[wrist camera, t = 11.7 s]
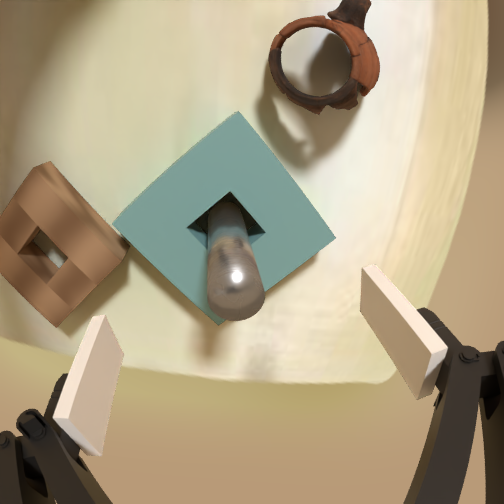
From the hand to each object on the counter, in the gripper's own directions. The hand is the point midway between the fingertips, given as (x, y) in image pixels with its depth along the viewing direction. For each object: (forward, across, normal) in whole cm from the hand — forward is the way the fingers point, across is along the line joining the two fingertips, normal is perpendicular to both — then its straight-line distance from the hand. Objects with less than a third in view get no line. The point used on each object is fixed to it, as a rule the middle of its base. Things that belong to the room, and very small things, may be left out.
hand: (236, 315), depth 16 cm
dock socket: (+16, 0, -1) cm, 16 cm away
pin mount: (+16, -18, 0) cm, 24 cm away
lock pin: (+16, 0, -1) cm, 16 cm away
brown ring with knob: (+17, +12, +14) cm, 24 cm away
